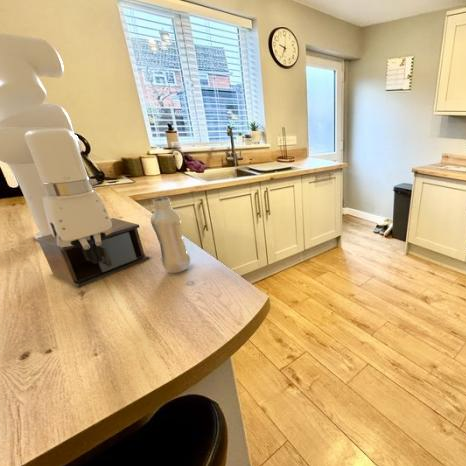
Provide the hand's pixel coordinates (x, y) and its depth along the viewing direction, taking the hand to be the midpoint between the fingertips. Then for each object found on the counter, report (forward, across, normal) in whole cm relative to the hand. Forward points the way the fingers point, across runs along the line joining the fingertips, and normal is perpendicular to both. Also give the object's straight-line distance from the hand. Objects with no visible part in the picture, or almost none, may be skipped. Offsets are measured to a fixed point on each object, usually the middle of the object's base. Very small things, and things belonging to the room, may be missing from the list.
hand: (95, 261), depth 71 cm
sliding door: (+5, -6, -2) cm, 8 cm away
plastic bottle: (+6, -12, +12) cm, 18 cm away
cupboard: (+6, -4, -9) cm, 12 cm away
